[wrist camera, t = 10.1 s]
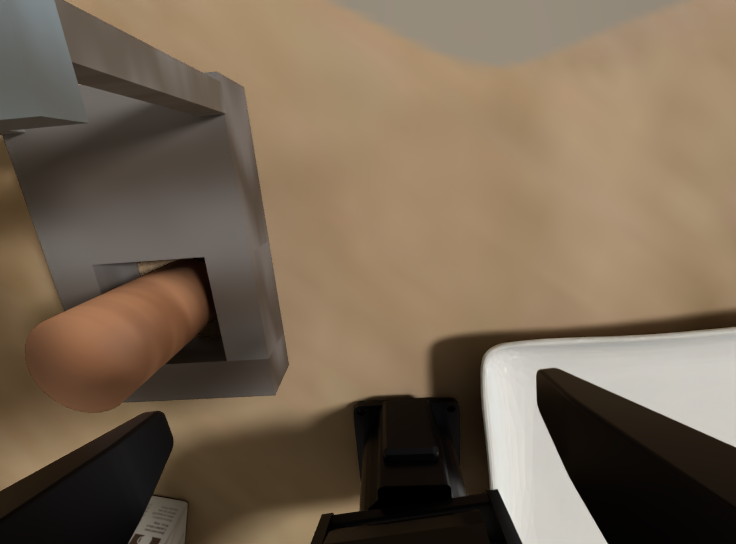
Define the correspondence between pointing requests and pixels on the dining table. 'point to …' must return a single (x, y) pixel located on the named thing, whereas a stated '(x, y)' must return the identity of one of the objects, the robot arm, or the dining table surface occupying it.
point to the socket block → (141, 184)
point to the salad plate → (611, 372)
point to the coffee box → (162, 522)
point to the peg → (120, 337)
